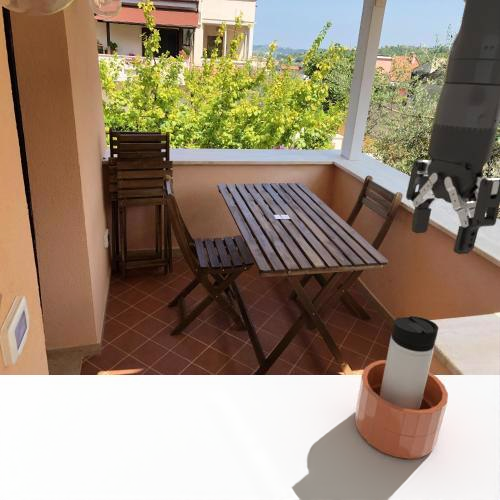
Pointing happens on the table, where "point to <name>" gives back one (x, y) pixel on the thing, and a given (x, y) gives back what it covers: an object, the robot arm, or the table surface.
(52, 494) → the table surface
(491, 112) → the robot arm
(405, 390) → the travel mug
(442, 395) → the planter
